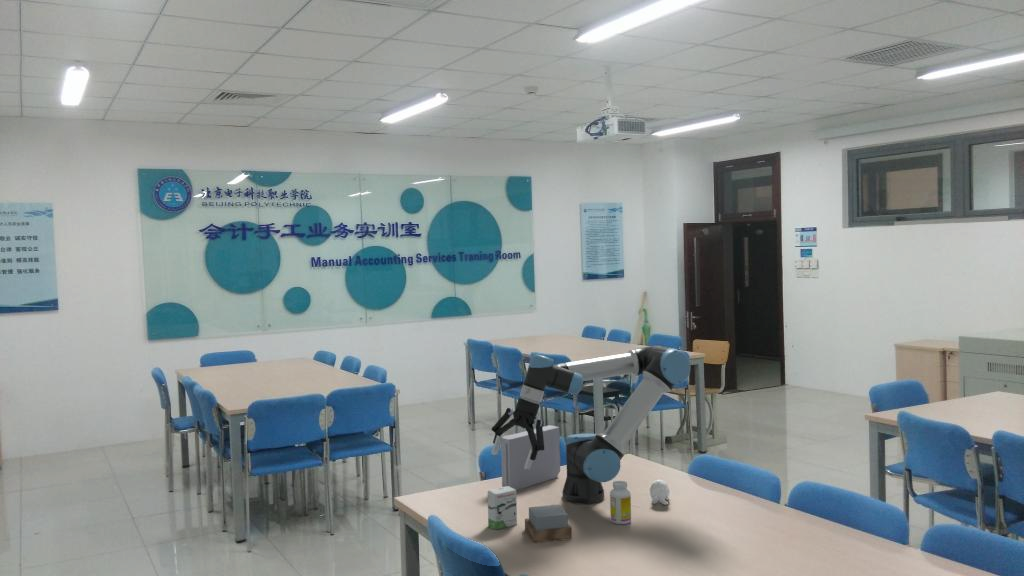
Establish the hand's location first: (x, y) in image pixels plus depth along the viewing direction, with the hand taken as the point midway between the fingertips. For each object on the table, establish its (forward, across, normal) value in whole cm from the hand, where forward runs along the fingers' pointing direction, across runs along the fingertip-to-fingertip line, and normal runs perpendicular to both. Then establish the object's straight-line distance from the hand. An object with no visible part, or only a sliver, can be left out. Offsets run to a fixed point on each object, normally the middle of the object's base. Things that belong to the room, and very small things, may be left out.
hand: (510, 461), depth 252 cm
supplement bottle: (+7, +35, +20) cm, 41 cm away
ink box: (+20, +4, 0) cm, 21 cm away
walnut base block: (+17, +21, 0) cm, 27 cm away
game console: (+12, -13, +43) cm, 47 cm away
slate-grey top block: (+13, +20, -1) cm, 24 cm away
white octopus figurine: (0, +38, +45) cm, 59 cm away
